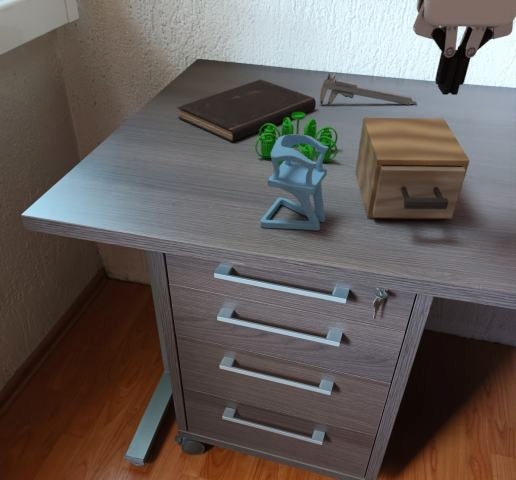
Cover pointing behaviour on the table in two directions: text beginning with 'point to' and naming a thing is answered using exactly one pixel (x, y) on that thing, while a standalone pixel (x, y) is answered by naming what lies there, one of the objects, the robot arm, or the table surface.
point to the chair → (297, 182)
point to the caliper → (358, 92)
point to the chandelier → (287, 129)
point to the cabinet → (403, 151)
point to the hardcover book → (245, 109)
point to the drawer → (417, 191)
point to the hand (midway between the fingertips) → (447, 90)
